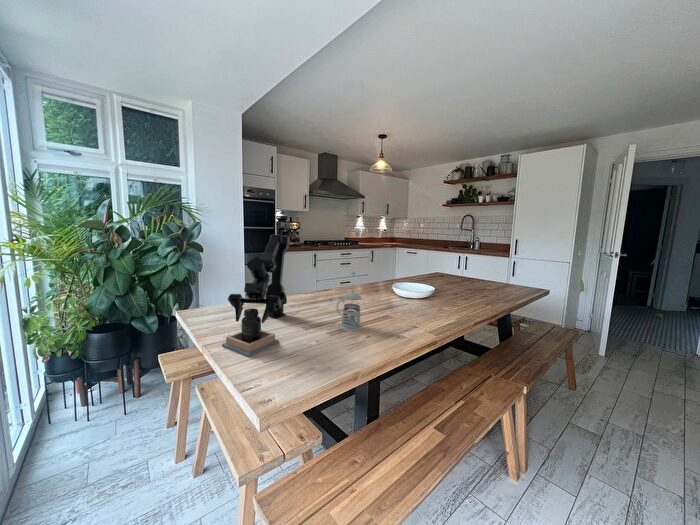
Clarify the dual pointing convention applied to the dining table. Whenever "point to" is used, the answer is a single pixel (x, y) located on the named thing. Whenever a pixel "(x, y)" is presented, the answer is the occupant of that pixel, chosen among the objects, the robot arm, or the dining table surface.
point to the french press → (351, 313)
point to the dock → (247, 349)
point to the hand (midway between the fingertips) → (249, 322)
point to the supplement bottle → (251, 326)
